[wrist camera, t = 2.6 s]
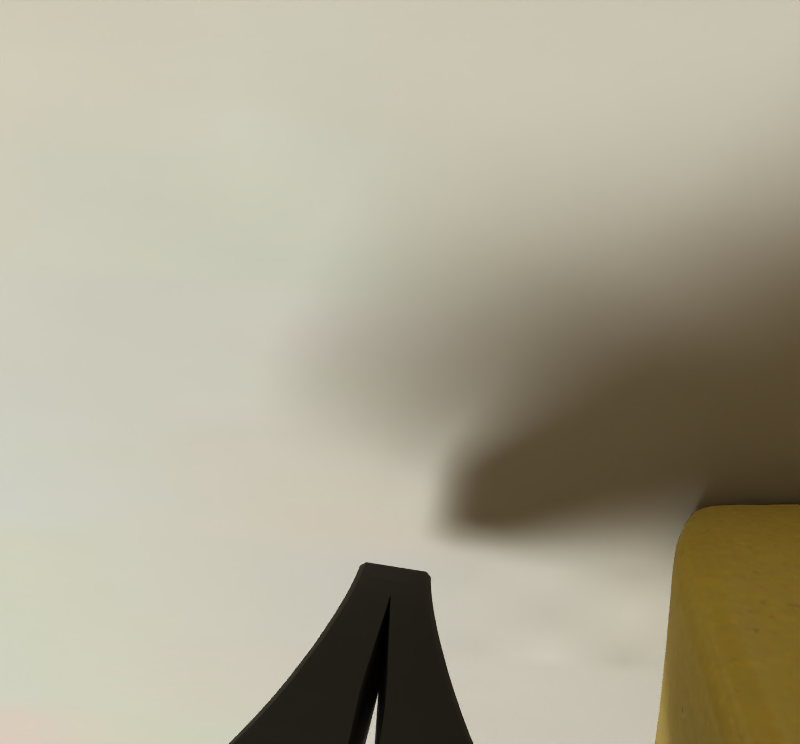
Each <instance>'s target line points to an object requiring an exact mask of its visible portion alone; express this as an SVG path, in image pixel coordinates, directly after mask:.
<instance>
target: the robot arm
mask: <svg viewBox="0 0 800 744" xmlns="http://www.w3.org/2000/svg"><path fill="white" fill-rule="evenodd" d="M377 695H378V705H377V720H376V734H375V744H473V742H472V739H471V737H470V735H469V732H468V729H467V727H466V724H465V721H464V719H463V716H462V713H461V710H460V707H459V704H458V701H457V699H456V696H455V693H454V690H453V687H452V683H451V680H450V677H449V673H448V670H447V666H446V663H445V659H444V655H443V651H442V648H441V644H440V640H439V635H438V631H437V626H436V621H435V616H434V610H433V603H432V595H431V577H430V576H429V575H428V573H427V572H424V571H418V570H411V569H405V568H399V567H393V566H386V565H380V564H374V563H367V562H366V563H364V564H362V565H361V566H360V567H359V570H358V572H357V575H356V577H355V579H354V581H353V583H352V585H351V587H350V589H349V591H348V592H347V594H346V596H345V598H344V599H343V601H342V603H341V604H340V606H339V608H338V610H337V611H336V613H335V614H334V616H333V617H332V619H331V620H330V622H329V623H328V625H327V626H326V628H325V629H324V631H323V632H322V634H321V635H320V637H319V638H318V640H317V641H316V643H315V644H314V646H313V647H312V648H311V650H310V651H309V652H308V653H307V655H306V656H305V657H304V659H303V660H302V661H301V663H300V664H299V665H298V667H297V668H296V669H295V671H294V672H293V673H292V674H291V676H290V677H289V678H288V679H287V681H286V682H285V683H284V684H283V686H282V687H281V688H280V689H279V690H278V691H277V693H276V694H275V695H274V696H273V697H272V698H271V700H270V701H269V702H268V703H267V704H266V705H265V706H264V707H263V709H262V710H261V711H260V712H259V713H258V714H257V715H256V716H255V717H254V718H253V719H252V721H251V722H250V723H249V724H248V725H247V726H246V727H245V728H244V729H243V730H242V731H241V732H240V733H239V734H238V735H237V736H236V737H235V738H234V739H233V740H232V741H231V742H230V743H229V744H365V743H366V739H367V735H368V731H369V727H370V723H371V719H372V715H373V711H374V707H375V703H376V699H377Z"/></svg>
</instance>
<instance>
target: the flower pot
mask: <svg viewBox="0 0 800 744" xmlns="http://www.w3.org/2000/svg"><path fill="white" fill-rule="evenodd" d="M655 744H800V504H778V505H720V506H710V507H705V508H702V509H699V510H697V511H696V512H695V513H693V514H692V515H691V517H690V518H689V520H688V521H687V523H686V525H685V527H684V529H683V530H682V532H681V535H680V537H679V540H678V543H677V546H676V552H675V557H674V565H673V574H672V585H671V599H670V610H669V621H668V632H667V643H666V652H665V662H664V672H663V682H662V692H661V701H660V710H659V718H658V725H657V733H656V740H655Z"/></svg>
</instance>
